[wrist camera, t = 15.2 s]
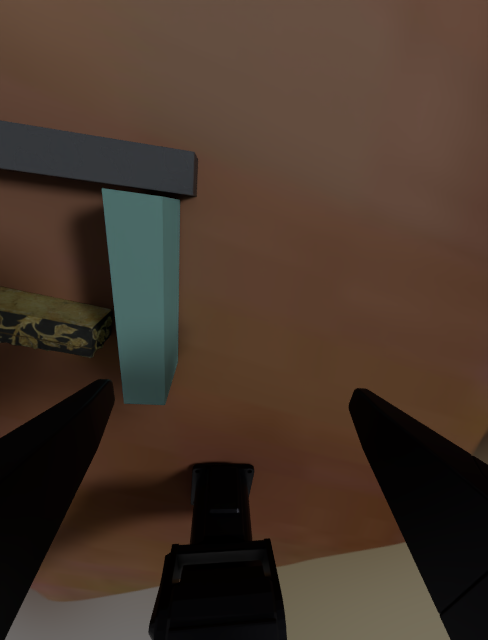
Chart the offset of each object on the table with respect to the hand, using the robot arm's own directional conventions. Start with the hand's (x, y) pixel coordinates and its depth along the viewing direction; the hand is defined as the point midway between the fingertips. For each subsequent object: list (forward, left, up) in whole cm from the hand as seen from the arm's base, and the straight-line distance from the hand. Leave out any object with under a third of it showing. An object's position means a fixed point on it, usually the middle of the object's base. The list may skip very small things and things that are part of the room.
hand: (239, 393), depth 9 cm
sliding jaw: (0, +5, -10) cm, 11 cm away
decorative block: (-2, +16, -11) cm, 20 cm away
